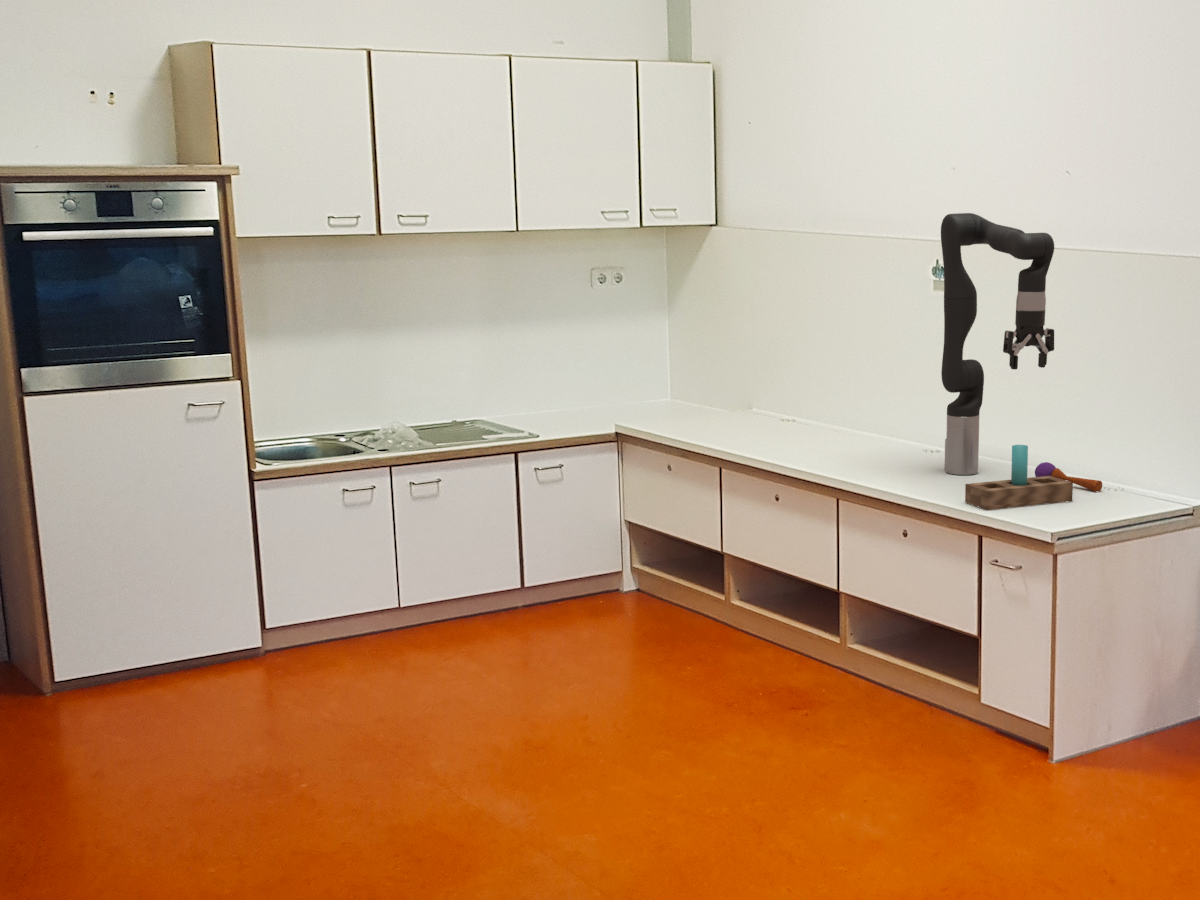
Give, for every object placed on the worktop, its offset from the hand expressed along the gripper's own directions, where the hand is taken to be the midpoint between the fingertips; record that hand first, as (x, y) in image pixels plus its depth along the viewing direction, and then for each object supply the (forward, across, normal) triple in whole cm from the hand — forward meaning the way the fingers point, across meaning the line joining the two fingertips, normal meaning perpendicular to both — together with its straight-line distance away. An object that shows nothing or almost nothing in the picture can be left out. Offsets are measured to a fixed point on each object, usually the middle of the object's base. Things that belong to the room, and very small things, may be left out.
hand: (1027, 368), depth 362 cm
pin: (+33, +9, +12) cm, 36 cm away
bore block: (+34, +9, +12) cm, 37 cm away
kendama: (+34, -14, 0) cm, 37 cm away
